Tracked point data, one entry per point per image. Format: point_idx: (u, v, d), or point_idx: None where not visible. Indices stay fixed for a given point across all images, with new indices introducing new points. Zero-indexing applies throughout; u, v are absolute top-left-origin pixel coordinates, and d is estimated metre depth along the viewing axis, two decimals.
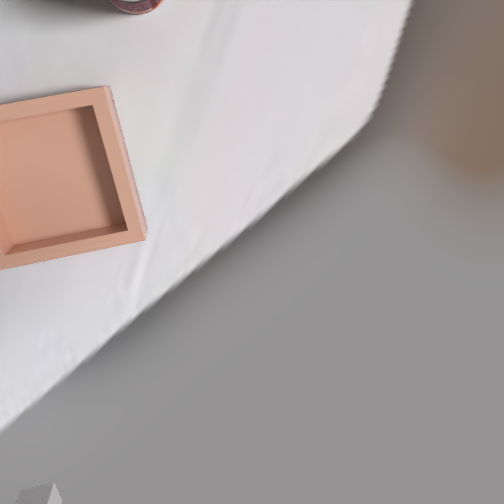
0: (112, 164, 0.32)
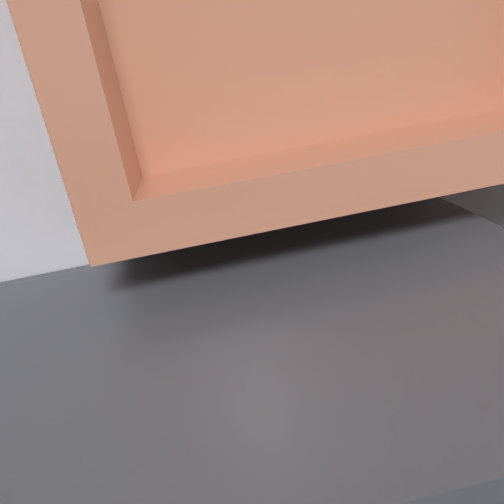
0: None
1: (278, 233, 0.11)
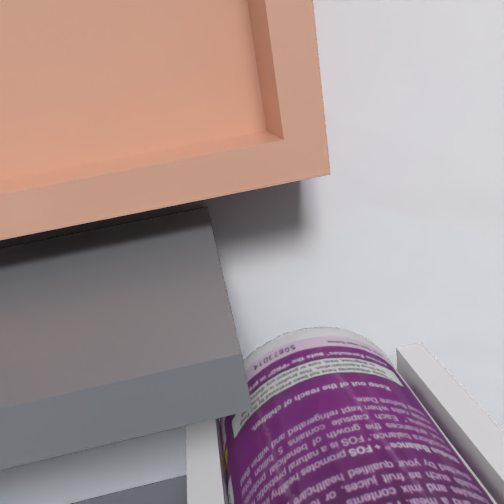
0: None
1: (61, 240, 0.13)
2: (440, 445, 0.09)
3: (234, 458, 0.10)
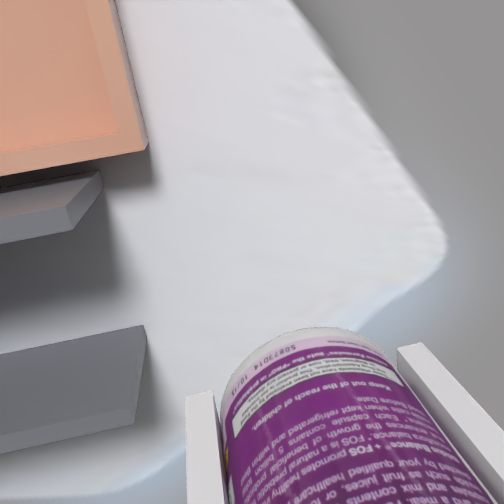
0: None
1: (19, 186, 0.25)
2: (440, 445, 0.09)
3: (235, 458, 0.10)
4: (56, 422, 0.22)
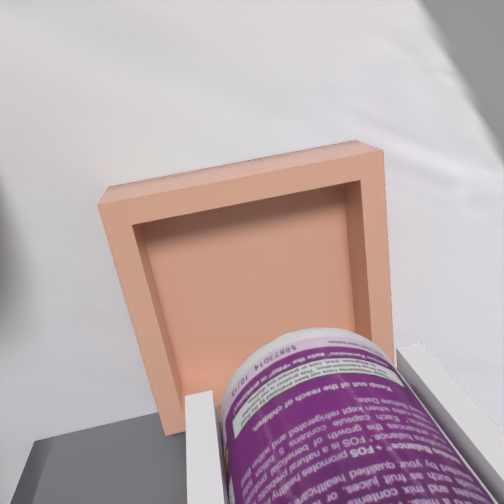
0: (237, 198, 0.18)
1: None
2: (441, 446, 0.09)
3: (234, 459, 0.10)
4: None
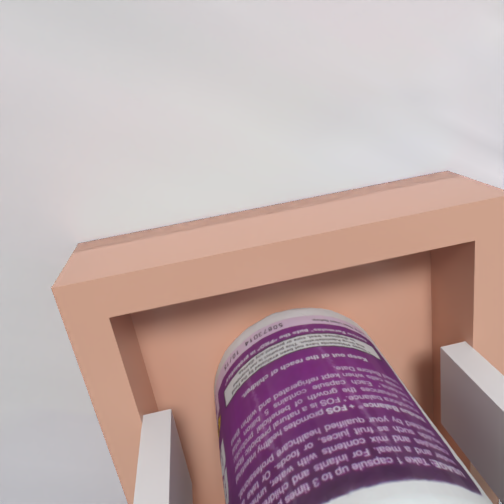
0: (279, 273, 0.11)
1: None
2: (408, 406, 0.10)
3: (225, 423, 0.11)
4: None
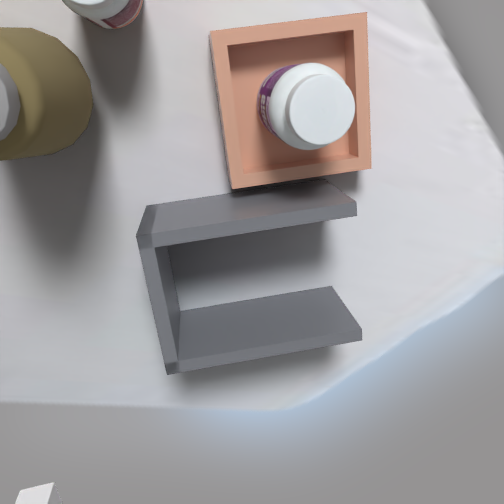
0: (284, 34, 0.32)
1: (276, 187, 0.38)
2: None
3: (263, 89, 0.32)
4: (317, 336, 0.35)
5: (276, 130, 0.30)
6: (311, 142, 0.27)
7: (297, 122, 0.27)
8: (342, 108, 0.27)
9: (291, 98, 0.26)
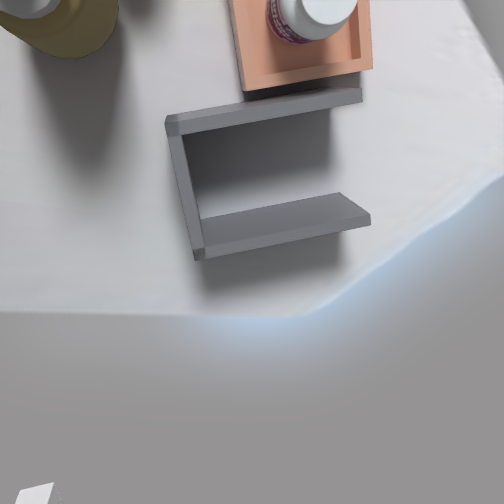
0: None
1: None
2: None
3: None
4: (330, 221, 0.38)
5: (287, 19, 0.33)
6: (321, 22, 0.31)
7: (308, 2, 0.30)
8: None
9: None
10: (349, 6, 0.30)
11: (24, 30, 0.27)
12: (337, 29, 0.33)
